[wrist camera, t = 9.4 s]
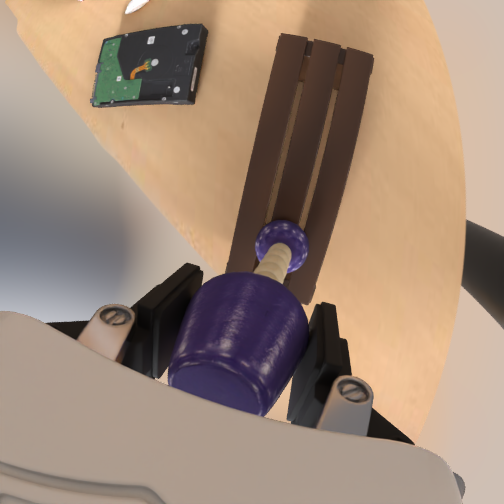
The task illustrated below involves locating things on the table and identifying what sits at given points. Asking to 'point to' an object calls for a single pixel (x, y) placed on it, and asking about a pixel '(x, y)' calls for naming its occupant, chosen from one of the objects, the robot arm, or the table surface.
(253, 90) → the table surface
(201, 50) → the disk drive
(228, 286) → the toy lamp
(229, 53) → the table surface
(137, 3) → the marker
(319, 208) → the bench
